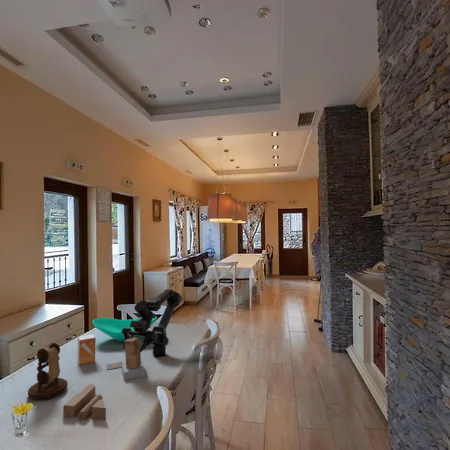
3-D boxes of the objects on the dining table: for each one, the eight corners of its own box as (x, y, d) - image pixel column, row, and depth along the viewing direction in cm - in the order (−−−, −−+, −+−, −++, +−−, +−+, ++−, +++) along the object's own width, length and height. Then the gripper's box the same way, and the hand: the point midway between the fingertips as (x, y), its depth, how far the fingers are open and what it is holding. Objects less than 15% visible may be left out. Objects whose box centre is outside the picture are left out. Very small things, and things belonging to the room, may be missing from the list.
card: (122, 362, 160) (122, 361, 160) (123, 367, 154) (123, 366, 154) (106, 365, 157) (106, 364, 157) (106, 369, 151) (106, 369, 151)
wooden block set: (61, 404, 112) (88, 380, 130) (61, 419, 112) (88, 394, 130) (104, 407, 110) (125, 382, 128) (104, 422, 110) (125, 396, 128)
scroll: (50, 403, 122) (51, 353, 122) (18, 399, 124) (19, 351, 125) (74, 385, 136) (75, 340, 137) (46, 382, 139) (47, 338, 139)
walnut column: (132, 363, 151) (131, 337, 151) (141, 364, 149) (139, 337, 150) (126, 367, 146) (124, 340, 147) (134, 368, 144) (133, 341, 145)
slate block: (142, 368, 154) (142, 360, 154) (145, 377, 145) (145, 368, 145) (122, 372, 150) (122, 363, 150) (123, 381, 141) (123, 372, 141)
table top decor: (157, 330, 212) (157, 311, 213) (156, 345, 185) (156, 323, 186) (97, 334, 204) (97, 314, 205) (87, 349, 177) (87, 327, 178)
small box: (78, 365, 156) (79, 340, 157) (77, 361, 162) (77, 336, 162) (95, 361, 161) (95, 337, 161) (93, 357, 166) (93, 334, 167)
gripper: (123, 311, 155) (108, 340, 145) (154, 315, 149) (141, 345, 138) (132, 322, 162) (119, 351, 152) (163, 326, 156) (151, 356, 146)
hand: (132, 350), depth 147 cm, fingers open, 9 cm apart
